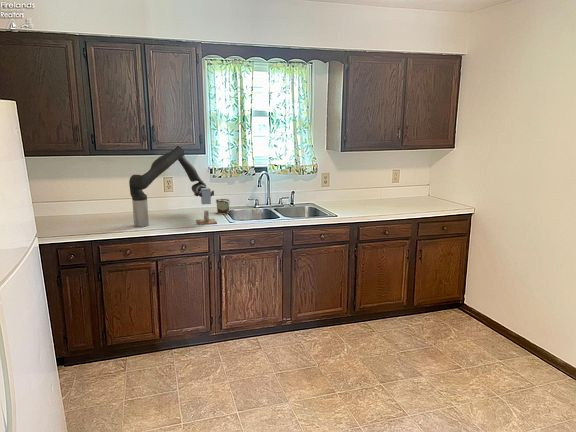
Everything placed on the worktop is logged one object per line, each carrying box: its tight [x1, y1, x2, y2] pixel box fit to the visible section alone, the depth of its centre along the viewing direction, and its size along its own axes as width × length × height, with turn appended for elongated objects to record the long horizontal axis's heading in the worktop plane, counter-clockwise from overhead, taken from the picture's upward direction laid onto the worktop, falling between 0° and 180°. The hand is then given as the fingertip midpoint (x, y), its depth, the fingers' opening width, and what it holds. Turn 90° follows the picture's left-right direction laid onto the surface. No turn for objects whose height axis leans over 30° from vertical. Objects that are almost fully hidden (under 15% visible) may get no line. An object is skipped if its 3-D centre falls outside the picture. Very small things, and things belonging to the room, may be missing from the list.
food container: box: [215, 198, 231, 215], centre depth 325 cm, size 12×6×10 cm, turn 57°
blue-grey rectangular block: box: [200, 187, 212, 205], centre depth 292 cm, size 6×6×10 cm
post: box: [195, 210, 218, 226], centre depth 295 cm, size 12×12×8 cm
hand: (206, 195), depth 290 cm, fingers closed on blue-grey rectangular block, 5 cm apart
